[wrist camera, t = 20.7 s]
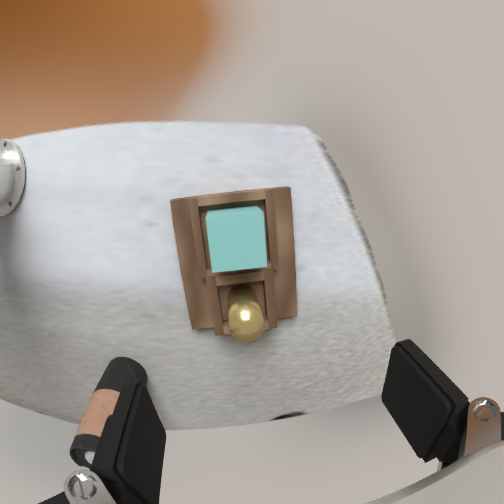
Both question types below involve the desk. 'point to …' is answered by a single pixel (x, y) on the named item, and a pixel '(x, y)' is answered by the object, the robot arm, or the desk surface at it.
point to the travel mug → (103, 407)
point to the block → (236, 238)
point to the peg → (244, 314)
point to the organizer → (219, 283)
